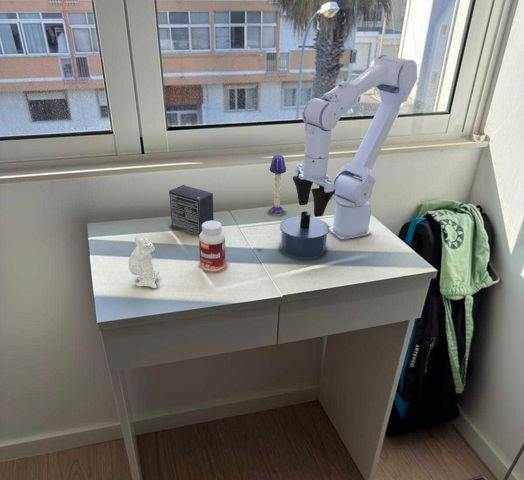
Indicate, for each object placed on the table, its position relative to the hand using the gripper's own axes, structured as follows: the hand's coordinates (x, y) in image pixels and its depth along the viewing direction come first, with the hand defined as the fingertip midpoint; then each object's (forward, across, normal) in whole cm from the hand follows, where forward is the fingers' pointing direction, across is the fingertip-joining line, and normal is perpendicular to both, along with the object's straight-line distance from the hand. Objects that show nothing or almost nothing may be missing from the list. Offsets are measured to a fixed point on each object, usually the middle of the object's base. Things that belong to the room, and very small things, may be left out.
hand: (310, 210), depth 130 cm
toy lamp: (+10, -23, +3) cm, 25 cm away
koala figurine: (+11, 0, -43) cm, 45 cm away
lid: (+4, 0, -2) cm, 5 cm away
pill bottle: (+11, -1, -26) cm, 29 cm away
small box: (+11, -23, -23) cm, 34 cm away
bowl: (+10, 0, -1) cm, 11 cm away
